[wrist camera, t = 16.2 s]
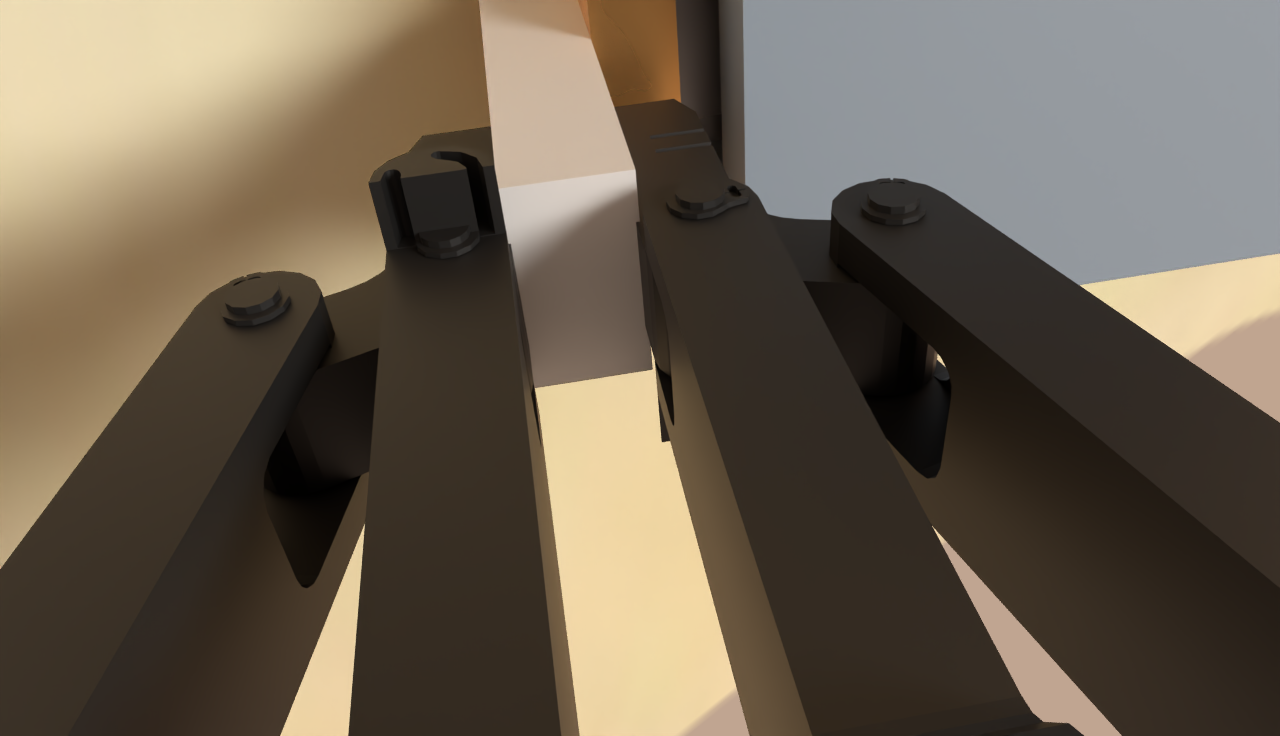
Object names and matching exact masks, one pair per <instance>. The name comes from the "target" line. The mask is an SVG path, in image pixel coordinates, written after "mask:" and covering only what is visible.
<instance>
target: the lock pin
mask: <svg viewBox="0 0 1280 736" xmlns="http://www.w3.org/2000/svg"><path fill="white" fill-rule="evenodd" d="M578 3H579V6H580V9H581V12H582V15H583V18H584V21H585V24H586V26H587V29H588V32H589V35H590V38H591V41H592V44H593V47H594V50H595V53H596V56H597V59H598V62H599V64H600V67H601V70H602V73H603V76H604V79H605V82H606V85H607V88H608V91H609V94H610V97H611V100H612V102H613V105H614V107H617V106H624V105H632V104H639V103H646V102H653V101H661V100H668V99H675V100H677V101H678V102H680V103H682V104H684V105H685V106H687V107H689V108H690V109H692V110H694V111H696V113H697V115H698V117H699V119H700V121H701V123H702V125H703V127H704V132H706V133H707V135H708V137H709V139H710V141H711V142H713V141H721V140H722V112H721V75H720V38H719V2H718V0H578Z"/></svg>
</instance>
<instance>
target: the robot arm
mask: <svg viewBox="0 0 1280 736" xmlns="http://www.w3.org/2000/svg"><path fill="white" fill-rule="evenodd" d="M479 7H480V17H481V28H482V38H483V49H484V59H485V70H486V80H487V91H488V101H489V112H490V122H491V127H484V128H477V129H470V130H462V131H455V132H448V133H440V134H433V135H426V136H422V137H421V139H420V140H419V141H418V142H417V143H416V144H415V145H414V147H413V148H412V149H411V150H410V151H409V152H408V153H406V154H403V155H401V156H399V157H396V158H394V159H392V160H389V161H388V162H386V163H385V164H384V165H382V166H381V167H380V168H378V169H377V170H376V171H374V173H373V175H372V177H371V179H370V181H369V187H370V191H371V194H372V198H373V202H374V206H375V209H376V213H377V217H378V221H379V224H380V228H381V232H382V235H383V239H384V243H385V247H386V250H387V252H386V264H385V270H384V271H383V272H381V273H380V274H379V275H377V276H375V277H373V278H372V279H370V280H368V281H367V282H365V283H362V284H360V285H357V286H355V287H352V288H350V289H347V290H344V291H341V292H338V293H335V294H332V295H329V296H326V297H323V295H322V292H321V290H320V288H319V286H318V285H317V283H316V281H315V280H314V279H312V278H310V277H308V276H305V275H303V274H301V273H295V272H285V271H275V272H267V273H261V272H259V273H254V274H250V275H247V277H243V276H242V277H240V278H237V279H234V280H232V281H230V282H229V283H228V284H226V285H224V286H222V287H221V288H219V289H217V290H215V291H213V292H211V293H210V294H209V295H208V296H207V297H206V298H205V299H204V300H202V301H201V302H200V303H199V304H198V305H197V306H196V307H195V308H194V310H193V311H192V312H191V314H190V315H189V317H188V318H187V319H186V321H185V322H184V323H183V325H182V326H181V327H180V329H179V330H178V331H177V333H176V334H175V335H174V337H173V338H172V339H171V341H170V342H169V343H168V345H167V346H166V347H165V349H164V350H163V351H162V353H161V354H160V355H159V357H158V358H157V359H156V361H155V362H154V364H153V365H152V366H151V368H150V369H149V370H148V372H147V373H146V374H145V376H144V377H143V378H142V380H141V381H140V382H139V384H138V385H137V386H136V388H135V389H134V390H133V392H132V393H131V394H130V396H129V397H128V398H127V400H126V401H125V402H124V404H123V405H122V406H121V408H120V409H119V411H118V412H117V413H116V415H115V416H114V417H113V419H112V420H111V421H110V423H109V424H108V425H107V427H106V428H105V429H104V431H103V432H102V433H101V435H100V436H99V437H98V439H97V440H96V441H95V443H94V444H93V445H92V447H91V448H90V449H89V451H88V452H87V454H86V455H85V456H84V458H83V459H82V460H81V462H80V463H79V464H78V466H77V467H76V468H75V470H74V471H73V472H72V474H71V475H70V476H69V478H68V479H67V480H66V482H65V483H64V484H63V486H62V487H61V488H60V490H59V491H58V492H57V494H56V495H55V496H54V498H53V499H52V501H51V502H50V503H49V505H48V506H47V507H46V509H45V510H44V511H43V513H42V514H41V515H40V517H39V518H38V519H37V521H36V522H35V523H34V525H33V526H32V527H31V529H30V530H29V531H28V533H27V534H26V535H25V537H24V538H23V539H22V541H21V542H20V543H19V545H18V546H17V548H16V549H15V550H14V552H13V553H12V554H11V556H10V557H9V558H8V560H7V561H6V562H5V564H4V565H3V566H2V568H1V569H0V736H280V735H281V732H282V730H283V727H284V725H285V722H286V720H287V717H288V715H289V712H290V710H291V707H292V705H293V702H294V700H295V697H296V694H297V692H298V689H299V687H300V684H301V682H302V679H303V677H304V674H305V672H306V669H307V667H308V664H309V662H310V659H311V657H312V654H313V652H314V649H315V647H316V644H317V642H318V639H319V637H320V634H321V632H322V629H323V627H324V624H325V622H326V619H327V617H328V614H329V612H330V609H331V607H332V604H333V602H334V599H335V597H336V594H337V591H338V589H339V586H340V584H341V581H342V579H343V576H344V574H345V571H346V569H347V566H348V564H349V561H350V559H351V556H352V554H353V551H354V549H355V546H356V544H357V541H358V539H359V536H360V534H361V531H362V529H363V526H364V524H365V531H364V544H363V557H362V570H361V582H360V595H359V608H358V620H357V633H356V646H355V659H354V671H353V684H352V697H351V709H350V722H349V735H348V736H579V728H578V720H577V712H576V704H575V696H574V688H573V680H572V672H571V664H570V656H569V648H568V640H567V632H566V624H565V616H564V608H563V600H562V592H561V584H560V576H559V568H558V560H557V552H556V544H555V536H554V528H553V520H552V511H551V503H550V495H549V487H548V479H547V471H546V463H545V455H544V447H543V439H542V431H541V423H540V415H539V409H538V404H537V398H536V393H535V388H538V387H545V386H551V385H557V384H564V383H570V382H576V381H583V380H589V379H596V378H602V377H608V376H615V375H621V374H627V373H634V372H640V371H646V370H653V368H652V356H651V348H652V351H653V355H654V358H655V367H656V379H657V391H658V403H659V415H660V427H661V439H662V442H666V441H670V442H671V445H672V449H673V453H674V456H675V460H676V464H677V468H678V471H679V475H680V479H681V482H682V486H683V490H684V494H685V497H686V501H687V505H688V508H689V512H690V516H691V520H692V523H693V527H694V531H695V534H696V538H697V542H698V546H699V549H700V553H701V557H702V560H703V564H704V568H705V572H706V575H707V579H708V583H709V586H710V590H711V594H712V598H713V601H714V605H715V609H716V612H717V616H718V620H719V624H720V627H721V631H722V635H723V638H724V642H725V646H726V650H727V653H728V657H729V661H730V664H731V668H732V672H733V676H734V679H735V683H736V687H737V690H738V694H739V697H740V702H741V705H742V709H743V713H744V716H745V720H746V723H747V728H748V731H749V735H750V736H1084V735H1083V734H1081V733H1080V732H1079V731H1078V730H1076V729H1075V728H1074V727H1073V726H1071V725H1070V724H1069V723H1052V722H1043V721H1042V720H1040V719H1039V718H1038V717H1037V716H1036V715H1035V714H1033V713H1032V711H1031V710H1030V708H1029V707H1028V705H1027V704H1026V702H1025V700H1024V699H1023V697H1022V696H1021V694H1020V692H1019V690H1018V688H1017V687H1016V684H1015V682H1014V681H1013V679H1012V677H1011V675H1010V673H1009V671H1008V669H1007V667H1006V666H1005V664H1004V662H1003V660H1002V658H1001V656H1000V654H999V652H998V650H997V649H996V646H995V645H994V643H993V641H992V639H991V637H990V635H989V633H988V631H987V629H986V627H985V626H984V624H983V622H982V620H981V618H980V616H979V614H978V612H977V610H976V609H975V607H974V605H973V603H972V601H971V599H970V597H969V595H968V593H967V591H966V590H965V588H964V586H963V584H962V582H961V580H960V578H959V576H958V574H957V572H956V571H955V569H954V567H953V565H952V563H951V561H950V559H949V557H948V555H947V553H946V552H945V550H944V548H943V546H942V544H941V542H940V540H939V538H938V536H937V534H936V533H935V531H934V529H933V527H934V528H935V529H936V530H937V532H938V533H939V534H940V535H941V536H942V537H943V538H944V539H945V540H946V542H947V543H948V544H949V545H950V546H951V547H952V548H953V549H954V550H955V551H956V552H957V554H958V555H959V556H960V557H961V558H962V559H963V560H964V561H965V562H966V564H967V565H968V566H969V567H970V568H971V569H972V570H973V571H974V572H975V574H976V575H977V576H978V577H979V578H980V579H981V580H982V581H983V582H984V584H985V585H986V586H987V587H988V588H989V589H990V590H991V591H992V592H993V594H994V595H995V596H996V597H997V598H998V599H999V600H1000V601H1001V602H1002V603H1003V605H1005V607H1006V608H1007V609H1008V610H1009V611H1010V612H1011V613H1012V614H1013V616H1014V617H1015V618H1016V619H1017V620H1018V621H1019V622H1020V623H1021V624H1022V626H1023V627H1024V628H1025V629H1026V630H1027V631H1028V632H1029V633H1030V634H1031V636H1032V637H1033V638H1034V639H1035V640H1036V641H1037V642H1038V643H1039V644H1040V645H1041V647H1042V648H1043V649H1044V650H1045V651H1046V652H1047V653H1048V654H1049V655H1050V657H1051V658H1052V659H1053V660H1054V661H1055V662H1056V663H1057V664H1058V665H1059V667H1060V668H1061V669H1062V670H1063V671H1064V672H1065V673H1066V674H1067V675H1068V676H1069V678H1070V679H1071V680H1072V681H1073V682H1074V683H1075V684H1076V685H1077V686H1078V688H1079V689H1080V690H1081V691H1082V692H1083V693H1084V694H1085V695H1086V696H1087V697H1088V699H1089V700H1090V701H1091V702H1092V703H1093V704H1094V705H1095V706H1096V707H1097V709H1098V710H1099V711H1100V712H1101V713H1102V714H1103V715H1104V716H1105V717H1106V719H1107V720H1108V721H1109V722H1110V723H1111V724H1112V725H1113V726H1114V727H1115V728H1116V730H1117V731H1118V732H1119V733H1120V734H1121V735H1122V736H1280V423H1279V422H1278V421H1276V420H1275V419H1273V418H1272V417H1270V416H1269V415H1268V414H1266V413H1265V412H1263V411H1262V410H1260V409H1259V408H1257V407H1256V406H1254V405H1253V404H1252V403H1250V402H1249V401H1247V400H1246V399H1244V398H1243V397H1241V396H1240V395H1238V394H1237V393H1236V392H1234V391H1232V390H1231V389H1230V388H1228V387H1227V386H1225V385H1224V384H1222V383H1221V382H1219V381H1218V380H1216V379H1215V378H1214V377H1212V376H1211V375H1209V374H1208V373H1206V372H1205V371H1203V370H1202V369H1200V368H1199V367H1198V366H1196V365H1195V364H1193V363H1191V362H1190V361H1189V360H1187V359H1186V358H1184V357H1183V356H1182V355H1180V354H1179V353H1177V352H1176V351H1174V350H1173V349H1171V348H1170V347H1168V346H1167V345H1166V344H1164V343H1163V342H1161V341H1160V340H1158V339H1157V338H1155V337H1154V336H1152V335H1151V334H1149V333H1148V332H1147V331H1145V330H1144V329H1142V328H1141V327H1139V326H1138V325H1136V324H1135V323H1133V322H1132V321H1130V320H1129V319H1128V318H1126V317H1125V316H1123V315H1122V314H1120V313H1119V312H1117V311H1116V310H1114V309H1113V308H1111V307H1110V306H1109V305H1107V304H1106V303H1104V302H1103V301H1101V300H1100V299H1098V298H1097V297H1095V296H1094V295H1093V294H1091V293H1090V292H1088V291H1087V290H1085V289H1084V288H1082V287H1081V286H1079V285H1078V284H1076V283H1075V282H1074V281H1072V280H1071V279H1069V278H1068V277H1066V276H1065V275H1063V274H1062V273H1060V272H1059V271H1057V270H1056V269H1055V268H1053V267H1052V266H1050V265H1049V264H1047V263H1046V262H1044V261H1043V260H1041V259H1040V258H1038V257H1037V256H1036V255H1034V254H1033V253H1031V252H1030V251H1028V250H1027V249H1025V248H1024V247H1022V246H1021V245H1020V244H1018V243H1017V242H1015V241H1014V240H1012V239H1011V238H1009V237H1008V236H1006V235H1005V234H1003V233H1002V232H1001V231H999V230H998V229H996V228H995V227H993V226H992V225H990V224H989V223H987V222H986V221H984V220H983V219H982V218H980V217H979V216H977V215H976V214H974V213H973V212H971V211H970V210H968V209H967V208H966V207H964V206H963V205H961V204H960V203H958V202H957V201H955V200H954V199H952V198H951V197H949V196H948V195H947V194H945V193H943V192H941V191H939V190H937V189H935V188H933V187H931V186H929V185H926V184H921V183H917V182H912V181H909V180H907V179H900V178H893V180H890V178H882V179H877V180H875V181H869V182H863V183H858V184H856V185H854V186H851V187H849V188H847V189H844V190H842V191H841V192H840V193H839V194H838V195H837V196H836V197H835V198H834V199H833V200H832V210H831V220H815V219H794V218H783V217H779V216H774V215H770V214H767V212H766V210H765V208H764V206H763V204H762V202H761V200H760V199H759V197H758V195H757V194H756V193H755V192H754V191H753V190H752V189H751V188H750V187H749V186H747V185H744V184H742V183H740V182H737V181H735V180H732V179H729V177H728V175H727V173H726V171H725V169H724V167H723V165H722V163H721V161H720V159H719V157H718V155H717V153H716V151H715V149H714V147H713V145H711V141H710V139H709V137H708V135H707V133H706V132H704V127H703V125H702V123H701V121H700V119H699V117H698V115H697V113H696V111H694V110H692V109H690V108H689V107H687V106H685V105H684V104H682V103H680V102H678V101H677V100H675V99H668V100H661V101H653V102H646V103H639V104H632V105H624V106H617V107H614V105H613V102H612V100H611V97H610V94H609V91H608V88H607V85H606V82H605V79H604V76H603V73H602V70H601V67H600V64H599V62H598V59H597V56H596V53H595V50H594V47H593V44H592V41H591V38H590V35H589V32H588V29H587V26H586V24H585V21H584V18H583V15H582V12H581V9H580V6H579V3H578V0H479ZM937 354H939V356H940V357H941V358H942V360H943V362H944V364H945V366H946V367H945V366H943V365H942V364H941V363H940V362H939V361H938V360H937ZM932 526H933V527H932Z"/></svg>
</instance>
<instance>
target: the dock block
mask: <svg viewBox="0 0 1280 736" xmlns="http://www.w3.org/2000/svg"><path fill="white" fill-rule="evenodd" d="M718 2H719V38H720V75H721V112H722V140H721V141H713V142H711V145H713V147H714V149H715V151H716V153H717V155H718V157H719V159H720V161H721V163H722V165H723V167H724V169H725V171H726V173H727V175H728V177H729V179H732V180H735V181H737V182H740V183H742V184H744V185H747V186H749V187H750V188H751V189H752V190H753V191H754V192H755V193H756V194H757V195H758V197H759V199H760V200H761V202H762V204H763V206H764V208H765V210H766V212H767V214H770V215H774V216H779V217H783V218H794V219H815V220H831V210H832V200H833V199H834V198H835V197H836V196H837V195H838V194H839V193H840V192H841V191H842V190H844V189H847V188H849V187H851V186H854V185H856V184H858V183H863V182H869V181H875V180H877V179H882V178H890V180H893V178H900V179H907V180H909V181H912V182H917V183H921V184H926V185H929V186H931V187H933V188H935V189H937V190H939V191H941V192H943V193H945V194H947V195H948V196H949V197H951V198H952V199H954V200H955V201H957V202H958V203H960V204H961V205H963V206H964V207H966V208H967V209H968V210H970V211H971V212H973V213H974V214H976V215H977V216H979V217H980V218H982V219H983V220H984V221H986V222H987V223H989V224H990V225H992V226H993V227H995V228H996V229H998V230H999V231H1001V232H1002V233H1003V234H1005V235H1006V236H1008V237H1009V238H1011V239H1012V240H1014V241H1015V242H1017V243H1018V244H1020V245H1021V246H1022V247H1024V248H1025V249H1027V250H1028V251H1030V252H1031V253H1033V254H1034V255H1036V256H1037V257H1038V258H1040V259H1041V260H1043V261H1044V262H1046V263H1047V264H1049V265H1050V266H1052V267H1053V268H1055V269H1056V270H1057V271H1059V272H1060V273H1062V274H1063V275H1065V276H1066V277H1068V278H1069V279H1071V280H1072V281H1074V282H1075V283H1076V284H1078V285H1082V284H1089V283H1095V282H1101V281H1108V280H1114V279H1120V278H1127V277H1133V276H1139V275H1146V274H1152V273H1159V272H1165V271H1171V270H1178V269H1184V268H1190V267H1197V266H1203V265H1209V264H1216V263H1222V262H1228V261H1235V260H1241V259H1247V258H1254V257H1260V256H1266V255H1273V254H1279V253H1280V0H718Z"/></svg>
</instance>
